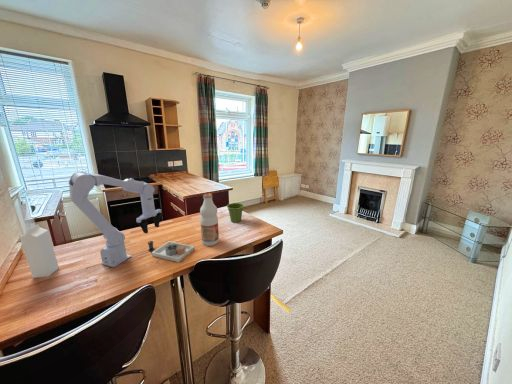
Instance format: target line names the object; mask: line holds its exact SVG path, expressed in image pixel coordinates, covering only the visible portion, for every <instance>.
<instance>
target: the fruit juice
mask: <svg viewBox="0 0 512 384" xmlns="http://www.w3.org/2000/svg"><path fill="white" fill-rule="evenodd" d="M202 198H203V202H202V205H201V206H200V209H199V212H200V215H201V216H200V232H201V233H200V234H201V243H202V244H203V245H204V246H209V247H211V246H215V245H217V244H218V243H219V238H220V236H219V234H220V233H219V219H218V215H217V214H218V207H217V206H216V205H215V203H214V201H213V194H212V193H204V194H203V195H202Z"/></svg>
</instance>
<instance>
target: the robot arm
mask: <svg viewBox="0 0 512 384" xmlns="http://www.w3.org/2000/svg"><path fill="white" fill-rule="evenodd" d="M102 185H107V186H113V187H120V188H122V190H123V191H125V192H130V193H135V194H140V195H139V196H140V202H141V203H140V204H141V209H142V214H141V215H140V216H138V217H136V224H138V226H139V228H141V230H142V232H143V234H148V233H149V228H148V225H149V221H147V219H149V218H151V217H152V220H153V224H154V227H155V228H159V227H160V222H161V219H162V217H163V214H162V209H160V208H157V209H156V207H155V202H154V201H155V200H154V193H155V188H154V186H153V185H152V184H151V183H147V182H145V181H144V180H141V181H140V180H135V179H134V178H132V177H130V178H125V179H123V180H122V179H117V178H114V177H110V176H106V175H102V174H99V173H91V172H87V173H86V172H83V171H77V172H74V173H73V174H72V175H71V176H70V179H69V181H68V186H69V199H70V200H71V202H72V203H73V204H74V205H75V206H76V207H77V208H78V209H79V210H80V211H81V213H83V214H84V215H85V216H86V217H87V219H89V220H90V221H91V222H92V224H93V225H94V226H95V227H97V229H98V230H100V232H101V233H102V236H103V238H104V239H105V240H106V242H105V246H104V247H103V248H101V249H100V256H101V257H100V258H101V264H102V265H104V266H108V267H112V268H115V267H116V266H118V265H120V264H121V263H123V262H125V261H126V260H128V259H129V258H131V257H132V255H131V254H129V253H128V254H127V249H126V245H125V238H126V236H125V234H124V233H122V232H121V231H120V230H118V228H117V227H114V226H113V225H112V224H111V222H109V220H108V219H106V217H105V216H104V215H103V214H102V213H101V212H100V211H99V210H98V209H97V208H96V206H95V205H94V204H93V203H92V202H91V201H90V199H88V197H89V195H90V192H91V191H92V190H93V189H94V187H95V186H96V187H99V186H102Z"/></svg>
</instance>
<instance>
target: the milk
mask: <svg viewBox="0 0 512 384" xmlns="http://www.w3.org/2000/svg"><path fill="white" fill-rule="evenodd" d="M25 233H26V234H24V235H22V236H20V237H19V240H20V243H21V246H22V249H23V252H24V255H25V258H26V260H27V264H28V267H29V270H30V273H31V276H32V278H33V279H35V278H36V279H37V278H49V277H50V276H51V275H53V274H54V273H56V271H57V270H58V269H60V266H59V263H58V259H57V257H56V252H55V248H54V245H53V243H52V239H51V235H50V232H49V230H48V229H46V228H43V227H40V224H38V223H37V224H35V225H33V226H30V227H28V228H27V229H26V230H25Z"/></svg>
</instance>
